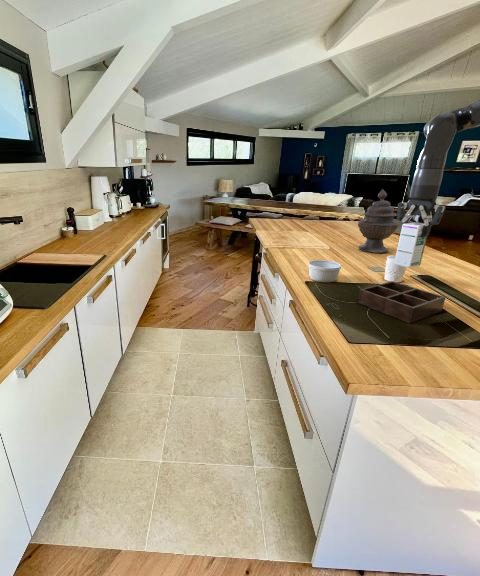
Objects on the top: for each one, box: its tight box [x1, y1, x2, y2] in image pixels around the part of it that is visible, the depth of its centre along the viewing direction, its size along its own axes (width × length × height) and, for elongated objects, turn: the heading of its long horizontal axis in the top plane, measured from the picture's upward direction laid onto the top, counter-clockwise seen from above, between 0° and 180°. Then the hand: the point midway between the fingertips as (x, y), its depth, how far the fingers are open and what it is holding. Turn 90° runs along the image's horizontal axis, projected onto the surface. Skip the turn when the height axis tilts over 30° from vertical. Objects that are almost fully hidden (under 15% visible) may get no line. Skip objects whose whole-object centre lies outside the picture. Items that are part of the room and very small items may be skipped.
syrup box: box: [394, 222, 428, 268], centre depth 108 cm, size 6×6×14 cm
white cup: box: [383, 254, 408, 283], centre depth 134 cm, size 8×8×10 cm
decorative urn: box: [357, 188, 400, 254], centre depth 178 cm, size 20×20×35 cm
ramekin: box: [307, 259, 342, 283], centre depth 138 cm, size 13×13×7 cm
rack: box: [357, 281, 447, 324], centre depth 109 cm, size 18×18×5 cm
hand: (413, 235), depth 107 cm, fingers closed on syrup box, 6 cm apart
